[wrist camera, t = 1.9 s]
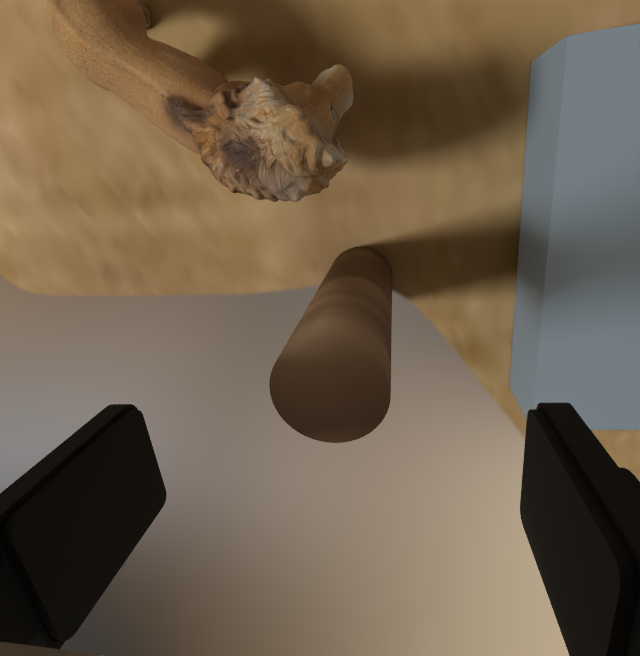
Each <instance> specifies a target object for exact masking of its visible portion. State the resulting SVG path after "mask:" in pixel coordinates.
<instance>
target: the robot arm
mask: <svg viewBox="0 0 640 656" xmlns="http://www.w3.org/2000/svg"><path fill="white" fill-rule="evenodd" d="M165 501H166V490H165V486H164V483H163V480H162V476H161V473H160V470H159V467H158V463H157V460H156V456H155V454H154V450H153V447H152V443H151V440H150V437H149V433H148V430H147V427H146V424H145V420H144V417H143V414H142V412H141V411H139V410H137V408H136V407H135V406H134V405H132V404H129V405H128V404H123V405H122V404H121V405H120V404H117V405H116V404H114V405H109V406H107V407H106V408H105V409H103V410H102V411H101V412H100V413H98V414H97V415H96V416H95V417H93V418H92V419H91V420H90V421H89V422H88V423H86V424H85V425H84V426H82V427H81V428H80V429H79V430H78V431H76V432H75V433H74V434H73V435H72V436H70V437H69V438H68V439H67V440H65V441H64V442H63V443H62V444H60V445H59V446H58V447H57V448H56V449H54V450H53V451H52V452H51V453H49V454H48V455H47V456H46V457H45V458H44V459H42V460H41V461H40V462H38V463H37V464H36V465H35V466H34V467H32V468H31V469H30V470H29V471H28V472H26V473H25V474H24V475H22V476H21V477H20V478H19V479H18V480H16V481H15V482H14V483H13V484H12V485H10V486H9V487H8V488H7V489H5V490H4V491H3V492H2V493H1V494H0V656H106V655H99V654H91V653H83V652H76V651H68V650H61V649H60V648H61V646H62V645H63V643H64V642H65V641H66V640H68V639H70V638H71V637H72V636H73V635H74V634H75V633H76V632H77V630H78V628H79V627H80V626H81V624H82V623H83V621H84V620H85V619H86V617H87V616H88V614H89V613H90V611H91V610H92V608H93V607H94V606H95V604H96V602H97V601H98V600H99V598H100V597H101V595H102V594H103V593H104V591H105V590H106V588H107V587H108V585H109V584H110V582H111V581H112V579H113V578H114V576H115V575H116V574H117V572H118V571H119V569H120V568H121V567H122V565H123V564H124V562H125V561H126V559H127V558H128V556H129V555H130V554H131V552H132V550H133V549H134V548H135V546H136V545H137V543H138V542H139V540H140V539H141V538H142V536H143V535H144V533H145V532H146V530H147V529H148V527H149V526H150V525H151V523H152V522H153V520H154V519H155V517H156V516H157V515H158V513H159V512H160V510H161V509H162V507H163V505H164V503H165ZM520 514H521V519H522V524H523V527H524V530H525V533H526V535H527V538H528V541H529V544H530V546H531V549H532V552H533V554H534V557H535V560H536V563H537V566H538V569H539V571H540V574H541V577H542V580H543V583H544V585H545V588H546V591H547V594H548V596H549V599H550V602H551V605H552V608H553V610H554V613H555V616H556V619H557V621H558V624H559V627H560V630H561V633H562V636H563V638H564V641H565V644H566V647H567V649H568V652H569V655H570V656H640V482H639V481H638V479H637V478H636V477H635V476H634V475H633V474H632V473H631V472H630V471H629V470H627V469H625V468H619V467H618V466H617V465H616V463H615V462H614V461H613V459H612V458H611V457H610V455H609V454H608V453H607V451H606V450H605V449H604V447H603V446H602V445H601V443H600V442H599V441H598V439H597V438H596V437H595V435H594V434H593V433H592V431H591V430H590V429H589V427H588V426H587V425H586V423H585V422H584V421H583V419H582V418H581V417H580V415H579V414H578V413H577V411H576V410H575V409H574V407H573V406H572V405H571V404H570V403H539V404H538V405H537V408H536V409H530V410H529V411H528V414H527V425H526V437H525V451H524V463H523V476H522V489H521V502H520Z"/></svg>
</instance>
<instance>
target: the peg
mask: <svg viewBox="0 0 640 656" xmlns="http://www.w3.org/2000/svg"><path fill="white" fill-rule="evenodd" d="M391 318H392V271H391V268H390V265H389V263H388V261H387V260H386V259H385V257H384V256H383V255H382V254H380V253H379V252H378V251H376V250H374V249H371V248H367V247H354V248H351V249H348V250H346V251H344V252H343V253H341V254H340V255H339V256H338V257H337V258H336V260H335V261H334V263H333V265H332V266H331V268H330V270H329V272H328V273H327V275H326V277H325V278H324V280H323V282H322V284H321V285H320V287H319V289H318V290H317V293H316V294H315V296H314V297H313V299H312V301H311V303H310V304H309V306H308V308H307V309H306V311H305V313H304V314H303V316H302V318H301V320H300V321H299V323H298V325H297V327H296V328H295V330H294V332H293V334H292V335H291V337H290V339H289V340H288V342H287V344H286V346H285V347H284V349H283V351H282V352H281V354H280V356H279V358H278V360H277V361H276V363H275V365H274V367H273V369H272V372H271V376H270V394H271V397H272V401H273V404H274V406H275V408H276V410H277V411H278V413H279V414H280V416H281V417H282V418H283V419H284V421H285V422H286V423H287V424H288V425H290V426H291V427H292V428H293V429H295V430H296V431H298V432H299V433H301V434H303V435H305V436H307V437H310V438H312V439H315V440H319V441H323V442H331V443H340V442H348V441H352V440H356V439H359V438H361V437H363V436H365V435H367V434H369V433H370V432H371V431H373V430H374V429H375V428H376V427H377V426H378V425H379V424H380V423H381V422H382V420H383V419H384V417H385V415H386V413H387V411H388V408H389V404H390V391H391V385H390V384H391Z"/></svg>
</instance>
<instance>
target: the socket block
mask: <svg viewBox="0 0 640 656" xmlns="http://www.w3.org/2000/svg"><path fill="white" fill-rule="evenodd" d="M509 387H510V389H511V391H512V393H513V395H514V397H515V399H516V401H517V402H518V404H519V406H520V408H521V410H522V412H523V414H524V416H525V418H526V420H527V414H528V411H529V410H530V409H536V408H537V405H538V404H539V403H570V404H571V405H572V406H573V407H574V409H575V410H576V411H577V413H578V414H579V415H580V417H581V418H582V419H583V421H584V422H585V423H586V425H587V426H588V427H589V429H590V430H640V23H639V24H633V25H627V26H621V27H615V28H610V29H604V30H598V31H592V32H586V33H580V34H574V35H568V36H566V37H565V38H564V39H562V40H561V41H559V42H558V43H557V44H555V45H554V46H552V47H551V48H550V49H548V50H547V51H545V52H544V53H543V54H541V55H540V56H538V57H537V58H536V59H534V60H533V61H531V71H530V86H529V101H528V116H527V131H526V146H525V161H524V176H523V191H522V206H521V221H520V236H519V251H518V266H517V281H516V296H515V311H514V326H513V341H512V356H511V371H510V386H509Z"/></svg>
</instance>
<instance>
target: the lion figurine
mask: <svg viewBox="0 0 640 656" xmlns="http://www.w3.org/2000/svg"><path fill="white" fill-rule="evenodd" d="M46 2H47V8H48V11H49V14H50V16H51V18H52V21H53V33H54V36H55V38H56V41H57V43H58V45H59V47H60V49H61V50H62V52H63V53H64V55H65V56H66V57H67V58H68V60H69V61H70V62H71V63H72V64H73V65H74V66H75V67H76V69H77V70H78V71H79V72H80V73H81V74H82V75H83V76H84V77H85V78H86V79H87V80H89V81H90V82H92V83H93V84H95V85H97V86H99V87H101V88H103V89H106V90H108V91H111V92H113V93H115V94H116V95H118V96H119V97H120V98H122V99H123V100H124V101H126V102H127V103H128V104H130V105H131V106H132V107H133V108H135V109H136V110H137V111H138V112H140V113H141V114H142V115H143V116H144V117H146V118H147V119H148V120H149V121H151V122H152V123H153V124H154V125H156V126H157V127H158V128H159V129H160V130H161V131H163V132H164V133H165V134H167V135H168V136H169V137H171V138H172V139H174V140H176V141H177V142H179V143H180V144H182V145H183V146H185V147H186V148H188V149H189V150H191V151H193V152H195V153H197V154H199V155H201V159H202V162H203V163H204V164H205V165H206V166H207V167H208V168H209V169H210V171H211V173H212V174H213V176H214V177H215V178H216V180H217V181H218V182H220V183H221V184H222V185H224V186H226V187H228V188H229V190H230V191H231V192H232V193H242V194H248V195H250V196H253V197H254V198H255V199H257V200H262V199H267V200H271V201H273V202H276V201H278V200H282V201H288V200H291V201H295V202H297V201H299V200H300V199H301V198H303V197H304V196H306V195H311V194H316V193H320V192H321V190H322V189H324V188H328V186H329V180H330V179H332V178H333V177H334V176H335V175H336V173H337V172H339V171H341V170H342V169H343V166H344V165H345V164H346V163H347V162H348V160H349V158H348V157H346V155H345V152H344V150H343V148H342V147H341V144H340V142H339V140H338V139H337V138H336V132H337V128H338V125H339V122H340V119H341V117H342V116H343V114H344V113H345V112H346V111H347V110H348V109H349V108H350V107H351V105H352V103H353V90H352V77H351V75H350V73H349V71H348V69H347V68H346V67H345V66H343V65H340V64H338V65H334V66H333V67H332V68H329V69H326V70H324V71H323V72H321V73H320V74H319V76H318V77H317V78H316V79H315V80H314V82H313V83H312V84H307V83H303V82H300V81H299V82H293V83H291V84H288V85H286V86H282V85H280V84H277V83H274V82H273V81H272V80H271V79H270V78H269V79H266V80H264V81H262V80H260V79H259V78H257V77H255V78H254V81H252V82H244V81H231V82H228V81H227V80H226V79H225V78H224V77H223V76H222V75H221V74H220V73H219V72H218V71H216V70H215V69H213V68H212V67H210V66H209V65H207V64H206V63H204V62H203V61H201V60H200V59H198V58H196V57H193V56H191V55H189V54H187V53H185V52H182V51H180V50H178V49H176V48H173V47H171V46H169V45H167V44H164V43H162V42H159V41H155V40H152V39H151V38H149V37H148V36H147V33H146V28H147V27H148V26H149V25H150V23H151V21H150V17H151V16H150V12H149V9H148V7H147V6H146V4H145V3H143V2H142V1H140V0H46Z"/></svg>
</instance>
